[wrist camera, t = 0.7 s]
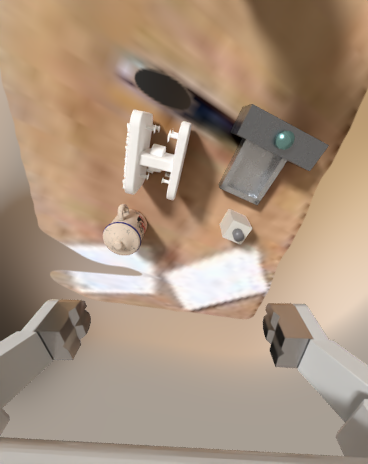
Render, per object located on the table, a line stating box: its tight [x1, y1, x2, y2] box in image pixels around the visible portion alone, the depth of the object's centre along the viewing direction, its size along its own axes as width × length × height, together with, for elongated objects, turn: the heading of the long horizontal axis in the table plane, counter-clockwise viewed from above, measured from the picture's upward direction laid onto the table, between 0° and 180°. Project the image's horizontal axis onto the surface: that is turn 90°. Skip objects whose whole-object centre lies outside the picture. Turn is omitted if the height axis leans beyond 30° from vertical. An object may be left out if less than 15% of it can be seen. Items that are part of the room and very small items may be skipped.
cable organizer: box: [123, 110, 191, 200], centre depth 40 cm, size 15×11×12 cm
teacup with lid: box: [103, 204, 147, 255], centre depth 49 cm, size 12×9×12 cm
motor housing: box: [218, 104, 329, 205], centre depth 41 cm, size 16×16×9 cm
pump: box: [220, 209, 252, 245], centre depth 49 cm, size 5×5×9 cm
